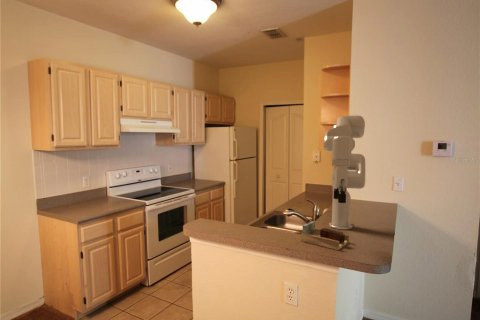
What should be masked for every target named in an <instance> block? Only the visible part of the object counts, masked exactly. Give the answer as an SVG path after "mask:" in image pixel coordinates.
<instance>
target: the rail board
mask: <svg viewBox="0 0 480 320" xmlns="http://www.w3.org/2000/svg"><path fill="white" fill-rule="evenodd" d="M321 229H322V228H317V227H316V221H313V220H312V221H309V222H308V223H305V224H303V225H302V232H301V233H300V242H303V243H308V244H312V245H316V246H320V247H324V248H327V249H331V250H335V251H336V250H337V251H339V250H340V249H342V248H343V247H345V246H346V245H347V244H349V242H350V234H345V233H343V234H344V236H345V241H344V242H342V243H341V244H340V241H336V240H332V239H327V238H323V237H320V230H321Z"/></svg>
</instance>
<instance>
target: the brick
mask: <svg viewBox="0 0 480 320" xmlns="http://www.w3.org/2000/svg"><path fill="white" fill-rule="evenodd" d="M320 229H321V230H320V237H323V238H327V239H332V240H336V241H340V244H341V243H342V242H344V241H345V236H344V234H345V233H344V232H343V231H339V230H335V229H330V228H327V227H326V228H325V227H322V228H320Z"/></svg>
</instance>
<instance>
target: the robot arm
mask: <svg viewBox="0 0 480 320" xmlns="http://www.w3.org/2000/svg"><path fill="white" fill-rule="evenodd" d="M365 127H366V122H365V118H364V116H361V115H341V116H339V117H338V118H337V120H336V121H335V124H334V125H333V126H332V128H331V129H328V130H327V131H326V132H325V134H324V138H323V142H322V144H323V145H322V146H323V149H324V151H326V152H328V153H329V152H331V153H332V156H331V166H332V173H331V187H332V202H331V203H332V206H331V207H332V209H331V215H332V216H331V221H330V222H328V226H329V227H331V228H333V229H336V230H351V229H353V224H351V222H350V220H351V201H352V200H351V194H350V192H349V191H348V190H347V189H357V190H358V189H359V190H361V189H364V187H365V186H366V158H365V156H364V155H363V154H361V153H352V151H353V150H354V149H355V147H356V141H355V140H354V139H360V138H362V137H363V136H364V134H365Z"/></svg>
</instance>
